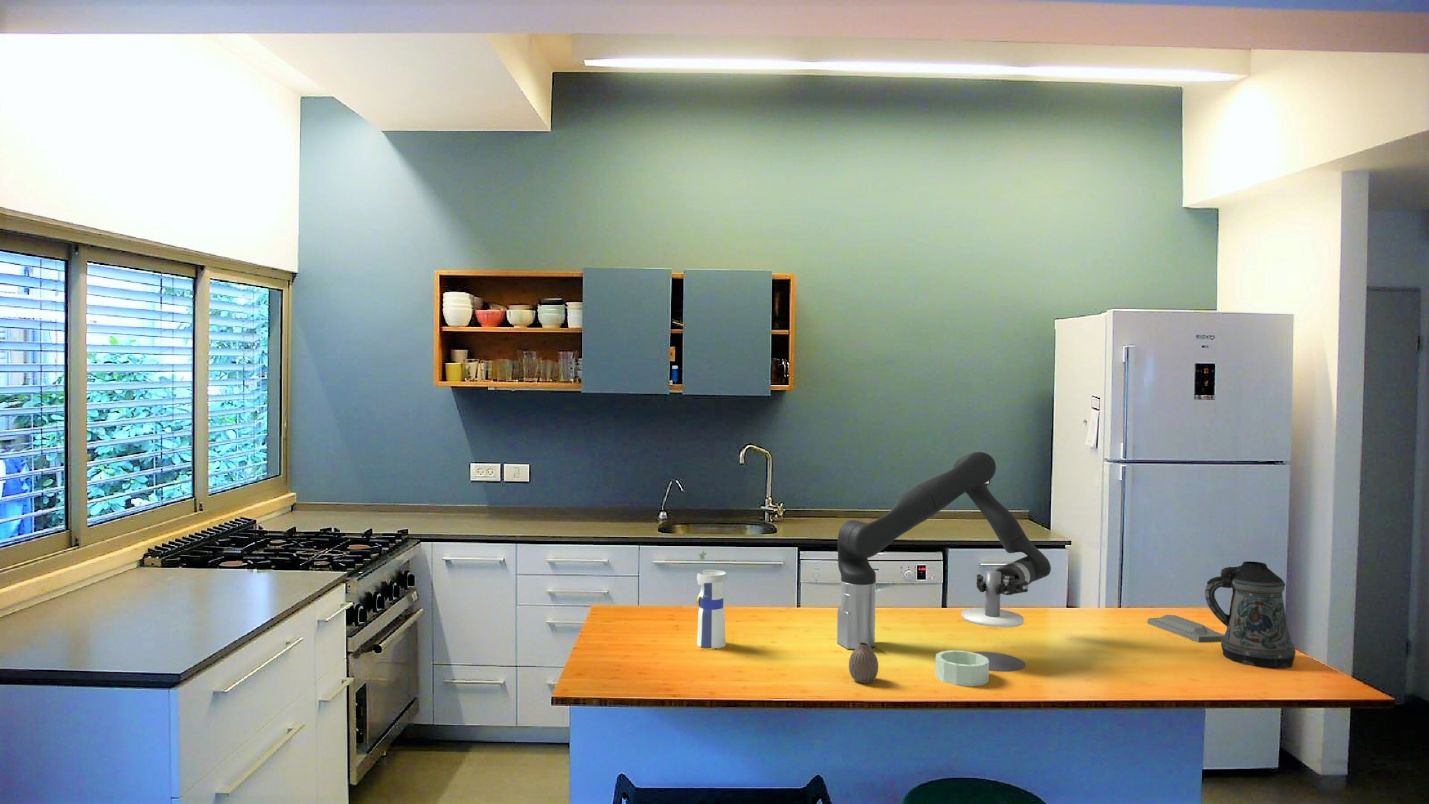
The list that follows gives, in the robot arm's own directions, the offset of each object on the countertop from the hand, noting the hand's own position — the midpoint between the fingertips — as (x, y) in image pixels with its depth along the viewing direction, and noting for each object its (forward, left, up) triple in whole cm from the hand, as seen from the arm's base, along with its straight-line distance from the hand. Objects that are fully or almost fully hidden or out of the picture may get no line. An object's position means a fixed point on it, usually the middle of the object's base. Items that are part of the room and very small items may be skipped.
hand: (989, 589), depth 217 cm
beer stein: (+70, -14, -19) cm, 74 cm away
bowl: (-12, -7, -19) cm, 24 cm away
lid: (+2, +2, -8) cm, 9 cm away
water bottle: (-62, +36, -19) cm, 74 cm away
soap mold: (+75, +11, -20) cm, 79 cm away
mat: (+2, +2, -19) cm, 19 cm away
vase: (-36, -1, -19) cm, 41 cm away
